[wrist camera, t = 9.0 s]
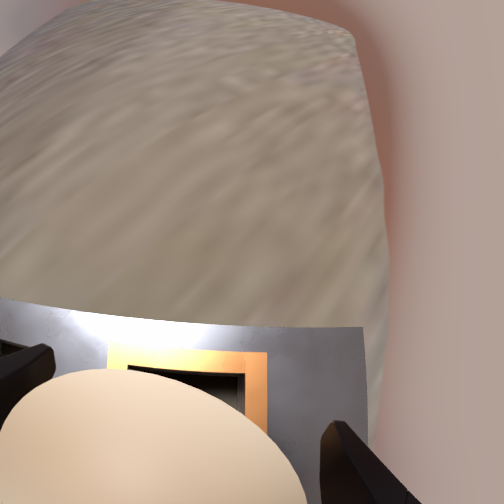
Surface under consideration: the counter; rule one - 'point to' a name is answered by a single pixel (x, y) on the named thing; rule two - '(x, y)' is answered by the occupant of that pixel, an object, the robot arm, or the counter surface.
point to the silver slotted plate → (220, 368)
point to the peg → (137, 446)
